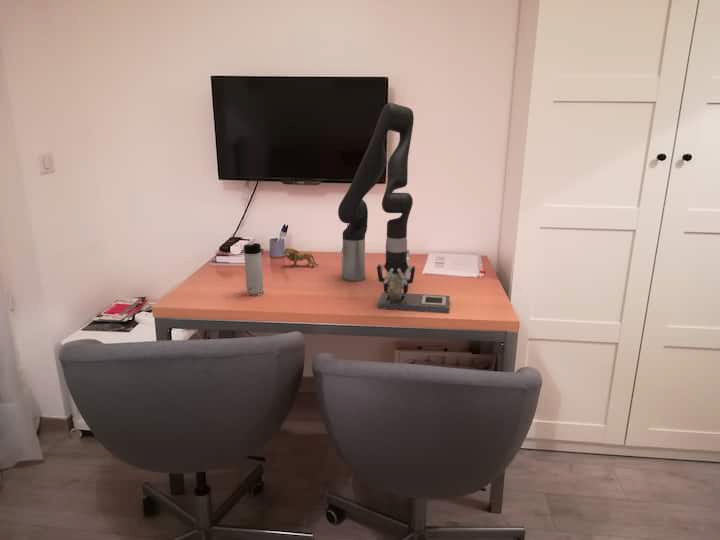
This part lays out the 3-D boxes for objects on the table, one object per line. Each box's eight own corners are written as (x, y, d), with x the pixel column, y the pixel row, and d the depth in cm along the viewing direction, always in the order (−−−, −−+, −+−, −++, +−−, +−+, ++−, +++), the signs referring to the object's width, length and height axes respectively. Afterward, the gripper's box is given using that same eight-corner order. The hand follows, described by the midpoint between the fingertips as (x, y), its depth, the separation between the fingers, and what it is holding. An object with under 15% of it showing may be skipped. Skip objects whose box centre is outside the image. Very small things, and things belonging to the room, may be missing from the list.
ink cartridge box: (385, 286, 213) (385, 250, 209) (389, 282, 218) (389, 247, 213) (406, 288, 211) (407, 252, 206) (409, 284, 215) (410, 249, 211)
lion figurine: (284, 269, 235) (283, 249, 232) (285, 265, 240) (284, 246, 237) (318, 267, 237) (317, 248, 234) (317, 264, 242) (317, 245, 239)
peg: (388, 305, 194) (389, 273, 190) (390, 300, 198) (390, 270, 194) (400, 306, 193) (401, 274, 189) (401, 301, 197) (402, 270, 193)
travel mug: (250, 297, 201) (246, 246, 195) (245, 292, 207) (241, 242, 201) (266, 294, 204) (262, 244, 198) (260, 289, 210) (257, 240, 204)
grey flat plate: (378, 308, 191) (378, 302, 190) (382, 296, 202) (382, 291, 201) (448, 313, 186) (448, 307, 185) (449, 300, 197) (449, 295, 197)
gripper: (417, 246, 191) (416, 290, 196) (378, 245, 194) (377, 288, 199) (415, 252, 184) (414, 297, 189) (374, 250, 187) (374, 295, 192)
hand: (395, 292), depth 194 cm, fingers open, 6 cm apart
